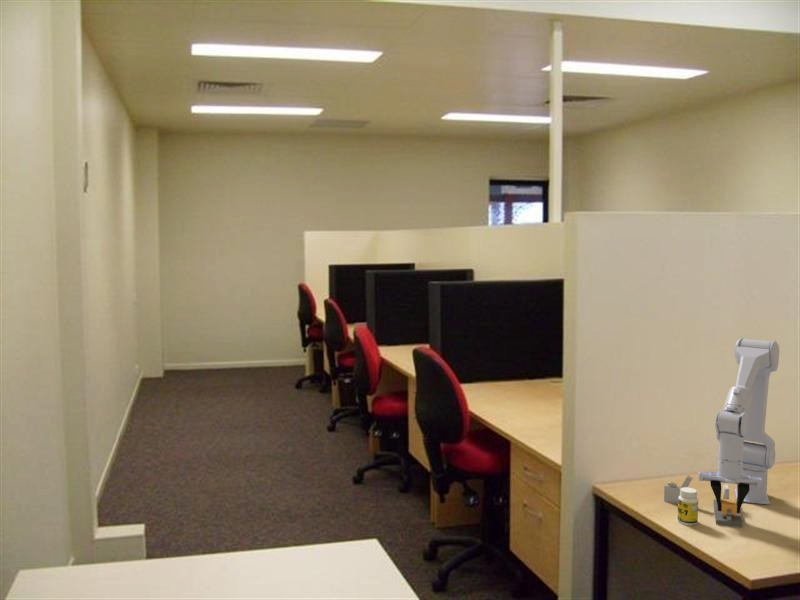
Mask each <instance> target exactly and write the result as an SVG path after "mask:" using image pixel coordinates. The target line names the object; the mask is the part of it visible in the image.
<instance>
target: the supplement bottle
mask: <svg viewBox="0 0 800 600" xmlns="http://www.w3.org/2000/svg"><path fill="white" fill-rule="evenodd" d="M698 518H699V498H698V490H697V489H696V488H693V487H689V486H688V487H683V488H681V489H680V496H679V497H678V504H677V522H678V523H680V524H682V523H683V524H682V525H685V524H687V525H686V526H695V525H697V524H698V521H699V520H698Z"/></svg>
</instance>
